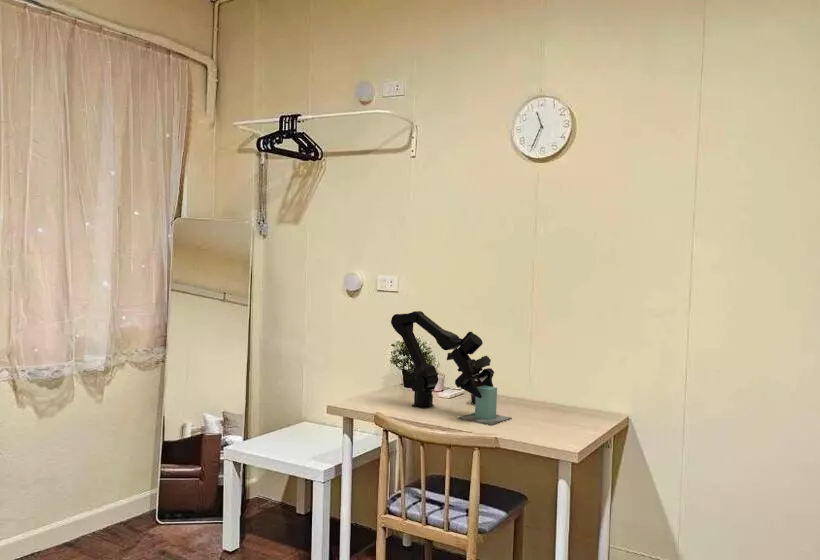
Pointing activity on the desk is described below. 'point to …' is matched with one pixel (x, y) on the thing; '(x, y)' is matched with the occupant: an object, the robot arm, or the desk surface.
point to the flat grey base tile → (490, 422)
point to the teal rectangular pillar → (486, 403)
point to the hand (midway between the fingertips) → (487, 396)
